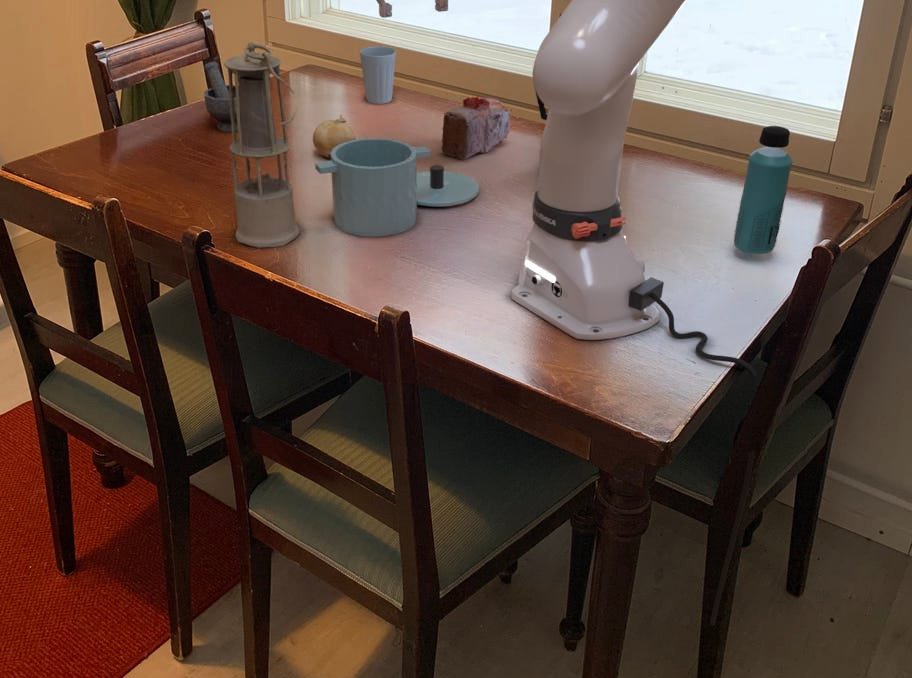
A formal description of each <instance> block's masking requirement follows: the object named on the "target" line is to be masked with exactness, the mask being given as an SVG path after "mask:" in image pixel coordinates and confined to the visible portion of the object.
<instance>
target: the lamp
mask: <svg viewBox="0 0 912 678" xmlns="http://www.w3.org/2000/svg"><path fill="white" fill-rule="evenodd" d="M256 49H259V50H263V51H264V52H262V53H259V52H255V50H256ZM243 51H244V53H243V54H240V55H237V56H233V57H230V58H228V59H226V60H225V61H223V65H224V67H225V68H226V69H227V75H228V76H227V77H228V85H229V92H230V111H231V123H232V131H231V138H232V143H231V144H230V145H229V151H230V153H231V161H232V163H231V164H232V174H233V176H232V177H233V183H234V190H233V193H234V203H235V213H236V223H237V225H236V226H237V228H236V231H235V234H234V235H235V239H236V240H237V241H238V242H239V243H241V244H245V245H248V246H250V247H255V248H259V249H260V248H261V249H263V248H278V247H283V246H285V245H287V244H288V243H290V242H292V241H293V240H294V239H296V238H298V236H299V235H300V233H301V230H300V227H299V226H298V224H297V223H296V214H295V213H296V212H295V203H294V192H293V191H294V190H293V185H292V184H291V183H290V173H289V172H290V171H289V164H288V157H287V152H288V151H289V149H290V147H291V143H290V142H289V138H288V133H287V130H286V129H287V125H288V124H290V122H292V121H293V120H294V119H295V117H296V114H297V110H298V109H297V108H298V107H296V108H295V111H294V113H293V115H292V116H291V117H290V118H288V119H287V118H286V113H285V103H284V101H283V95H282V90H281V89H282V88H281V87H282V85H281V83H282V84H284V85H286V87H287V88H288V89H289V90H290V92H291V93H292V95H295V92H294V89H292V87H290V85H288V83H287V82H286V81H285V80H284V79H283V78H282V77H281V76H280V74H281V69H280V66H281V64H282V63H281V62H282V61H281V58H279V57H276V56H274V55H272V49H271V48H269V47H268V46H265V45H263V44H259V43H254V41H253V42H252V41H250V42H248V43H247V45H246V46H245V47H244V49H243ZM233 75H234V76H233ZM270 75H272V76H273V77H274V78H275V79H276V82H277V89H278V97H279V98H278V99H279V108H280V117H281V122H280V123H278V126H282V135H283V138H282V137H279V136H276V127H275V122H274V120H275V119H274V113H273V104H272V95H271V84H270V83H271V76H270ZM233 79H234V83H235V84H234V83H233ZM233 85H235V87H236V107H237V125H238V131H236V128H235V114H234V98H233ZM239 97H240V104H239ZM240 109H241V119H240ZM241 124H242V130H241ZM237 133H238V139H237ZM282 154H283V161H284V167H283V168H284V177H285V179H283V172H282V170H283V169H282V162H281V155H282ZM236 156H238V157H242V158H245V166H246V176H247V178H246V180H243V181H240V182H239V183H238V181H239V180H238V172H237V160H236ZM272 157H276V160H277V170H278V178H277V177H271V175H270V173H269V172H268V173H265V174H261V167H260V161H261V160H262V159H265V158H266V159H267V158H268V159H269V158H272ZM250 158H251V159H252V160H255V167H256V176H257V177H255V178H251V164H250Z"/></svg>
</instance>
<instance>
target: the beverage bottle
mask: <svg viewBox="0 0 912 678" xmlns="http://www.w3.org/2000/svg"><path fill="white" fill-rule="evenodd" d="M790 135H791V131H790V130H789V129H788V128H786V127H783V126H778V125H768V126H765V127H763V128H762V130H761V133H760V136H759V140H758V142H759V145H762V146H763V147H760V148H758V149H756V150H755V151H753V152H752V153H750V155H749V156H748V162H747V167H746V174H745V178H744V184H743V189H742V193H741V194H740V196H741V197H740V198H741V199H740V202H739V208H738V213H737V215H736V217H737V218H736V219H737V220H736V222H735V229H734V233H733V245H734V247H735V248H736V249H737V250H739V251H741V252H743V253H747V254H751V255H765V254H769V253H771V252H773V250H774V249H775V247H776V245H777V241H778V236H779V232H780V228H781V223H782V218H783V212H784V208H785V205H784V204H785V200H786V196H787V194H788V193H787V191H788V190H787V189H788V185H789V179H790V173H791V169H792V165H793V158H792V157H791V155H790V154H789V153H788V152H787V151H786V150H785V149H782V148H787V147H788V146H789V143H790Z"/></svg>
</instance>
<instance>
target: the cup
mask: <svg viewBox="0 0 912 678" xmlns="http://www.w3.org/2000/svg"><path fill="white" fill-rule="evenodd" d="M396 53H397V50H396V49H395V48H393V47H389V46H382V45H381V46H380V45H379V46H378V45H377V46H375V45H374V46H366V47H364V48H362V49H360V50H359V56H360V64H361V70H362V79H363V85H364V91H365V97H366V99H365V100H366V102H367V103H369V104H374V105H384V104H388V103H391V102H392V101H393V100H392V99H393V93H394V92H393V91H394V81H395V80H394V79H395V70H396V69H395V67H396V56H397V54H396Z"/></svg>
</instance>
